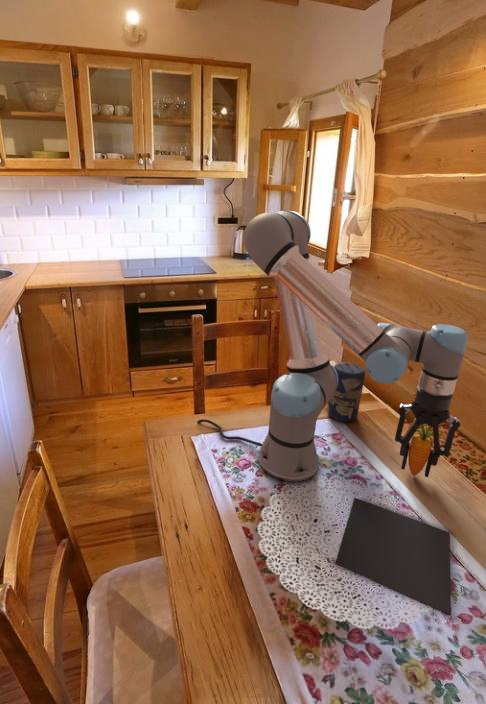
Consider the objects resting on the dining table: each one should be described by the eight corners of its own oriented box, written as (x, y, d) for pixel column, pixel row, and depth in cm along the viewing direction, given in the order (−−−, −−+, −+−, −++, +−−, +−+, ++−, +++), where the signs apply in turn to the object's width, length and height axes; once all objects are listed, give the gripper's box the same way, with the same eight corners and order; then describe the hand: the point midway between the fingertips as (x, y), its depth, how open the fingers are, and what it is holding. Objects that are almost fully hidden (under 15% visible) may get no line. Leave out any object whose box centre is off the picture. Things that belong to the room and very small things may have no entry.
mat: (335, 563, 79) (335, 563, 79) (354, 497, 96) (354, 497, 96) (450, 615, 71) (450, 614, 71) (449, 532, 88) (449, 532, 88)
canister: (327, 421, 126) (335, 369, 120) (325, 405, 135) (332, 356, 129) (359, 425, 124) (369, 373, 118) (354, 409, 133) (363, 359, 127)
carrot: (426, 483, 101) (440, 432, 96) (405, 480, 102) (418, 429, 97) (421, 470, 106) (433, 421, 101) (400, 467, 107) (412, 418, 102)
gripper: (393, 386, 96) (376, 466, 104) (480, 407, 89) (454, 492, 97) (396, 373, 103) (379, 450, 110) (477, 392, 95) (453, 473, 103)
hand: (414, 469), depth 103 cm, fingers closed on carrot, 5 cm apart
